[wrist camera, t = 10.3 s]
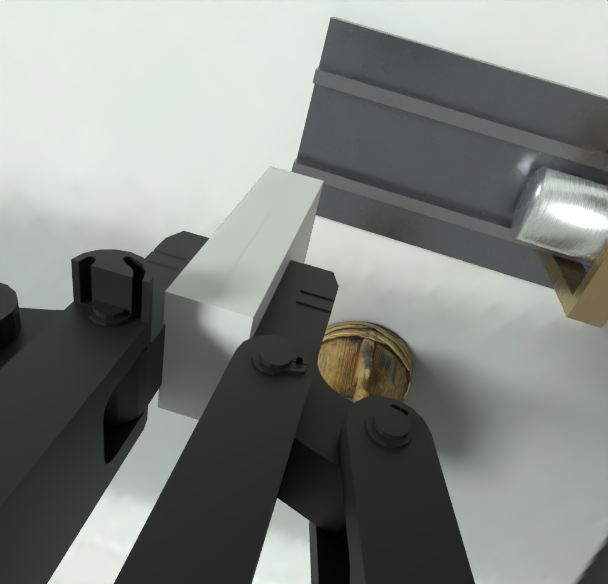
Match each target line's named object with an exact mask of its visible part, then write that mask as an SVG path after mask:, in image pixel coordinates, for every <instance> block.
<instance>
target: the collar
mask: <svg viewBox="0 0 608 584" xmlns="http://www.w3.org/2000/svg"><path fill="white" fill-rule="evenodd" d="M544 267H545V269H546V271H547V273H548V276H549V278H550V280H551V282H552V285H553V287H554V289H555V291H556V294H557V296H558V298H559V300H560V303H561V305H562V307H563V309H564V311H565V314H566V316H567V317H568V318H571V319H575V320H578V321H581V322H584V323H587V324H591V325H594V326H597V327H600V328H602V326H603V325H604V323H605V322H606V321H607V319H608V241H607V243H606V245H605V246H604V248H603V249H602V251H601V252H600V254H599V255H598V257H597V259H596V260H595V262H594V263H593V265H592V266H591V268H590V269H589V271H588V273H587V272H586V270H585V268H584V267H583V265H582V263H579V262H575V261H572V260H569V259H566V258H562V257H559V256H556V255H553V254H551V255H550V256H549V258H548V260H547V262H546V263H545V265H544Z"/></svg>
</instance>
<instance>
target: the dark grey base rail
mask: <svg viewBox="0 0 608 584" xmlns="http://www.w3.org/2000/svg"><path fill="white" fill-rule="evenodd" d="M313 83H315V85H314V90H313V94H312V98H311V102H310V106H309V110H308V115H307V119H306V123H305V127H304V131H303V135H302V140H301V144H300V148H299V152H298V156H297V159H296V160H295V161H294V164H293V168H292V172H294V173H297V174H301V175H304V176H308V177H312V178H315V179H319V180H323V181H324V182H323V186H322V190H321V194H320V199H319V203H318V207H317V211H316V215H318V216H322V217H325V218H328V219H331V220H334V221H338V222H341V223H344V224H347V225H350V226H354V227H357V228H360V229H363V230H366V231H370V232H373V233H376V234H379V235H383V236H386V237H389V238H392V239H395V240H399V241H402V242H405V243H408V244H411V245H415V246H418V247H421V248H424V249H427V250H431V251H434V252H437V253H440V254H444V255H447V256H450V257H453V258H456V259H460V260H463V261H466V262H469V263H472V264H476V265H479V266H482V267H485V268H488V269H492V270H495V271H498V272H501V273H504V274H508V275H511V276H514V277H517V278H521V279H524V280H527V281H530V282H533V283H537V284H540V285H543V286H546V287H549V288H553V289H554V287H553V285H552V282H551V280H550V278H549V276H548V273H547V271H546V269H545V267H544V265H545V263H546V262H547V260H548V258H549V256H550V255H551V254H553V255H556V256H559V257H562V258H566V259H569V260H572V261H575V262H579V263H582V265H583V267H584V268H585V270H586V272H587V273H588V271H589V269H590V268H591V266H592V265H593V263H592V262H589V261H585V260H582V259H579V258H576V257H572V256H569V255H566V254H563V253H560V252H556V251H553V250H550V249H547V248H543V247H540V246H537V245H534V244H530V243H527V242H524V241H521V240H517V239H514V238H513V236H512V233H511V225H512V219H513V215H514V211H515V208H516V205H517V203H518V200H519V198H520V195H521V193H522V191H523V189H524V188H525V186H526V184H527V182H528V181H529V179H530V178H531V177H532V175H533V174H534V173H535V172H536V171H537V170H538V169H540V168H541V167H547V168H550V169H553V170H557V171H560V172H563V173H567V174H570V175H573V176H577V177H580V178H583V179H586V180H590V181H593V182H596V183H600V184H603V185H606V186H608V98H607V97H603V96H600V95H597V94H593V93H590V92H586V91H583V90H580V89H576V88H573V87H570V86H566V85H563V84H559V83H556V82H553V81H549V80H546V79H542V78H539V77H536V76H532V75H529V74H525V73H522V72H519V71H515V70H512V69H508V68H505V67H502V66H498V65H495V64H492V63H488V62H485V61H481V60H478V59H475V58H471V57H468V56H464V55H461V54H458V53H454V52H451V51H447V50H444V49H441V48H437V47H434V46H430V45H427V44H424V43H420V42H417V41H414V40H410V39H407V38H403V37H400V36H397V35H393V34H390V33H386V32H383V31H380V30H376V29H373V28H369V27H366V26H363V25H359V24H356V23H352V22H349V21H346V20H342V19H339V18H336V17H331V19H330V23H329V27H328V31H327V35H326V40H325V44H324V48H323V52H322V56H321V60H320V65H319V67H318V68H317V69H316V71H315V76H314V80H313Z"/></svg>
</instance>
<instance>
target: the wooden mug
mask: <svg viewBox="0 0 608 584" xmlns="http://www.w3.org/2000/svg"><path fill="white" fill-rule="evenodd" d="M318 367H319V371H320V373H321V375H322V377H323V378H324V380H325V381H326V382H327V383H328V385H329V386H330V387H331V388H332V389H334V390H335V391H336V392H338V393H339V394H341V395H342V396H344V397H345V398H347V399H349V400H350V401H352V402H354V403H355V401H358V400H360V399H362V398H365V397H367V396H384V397H388V398H391V399H395V400H398V401H400V402H402V403H403V399H404V398H405V397H406V395H407V393H408V391H409V389H410V383H411V377H412V371H413V364H412V358H411V353H410V352H409V350H408V348H407V346H406V345H405V343H404V341H402V340H401V339H400V338H399V337H397V336H396V335H395V334H394V333H393V332H391V331H388V330H386V329H383V328H381V327H379V326H376V325H374V324H371V323H367V322H360V321H348V322H342V323H335V324H333V325H330V326H328V327H327V328H326V332H325V335H324V338H323V342H322V345H321V349H320V352H319V356H318Z"/></svg>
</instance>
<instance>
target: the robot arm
mask: <svg viewBox="0 0 608 584" xmlns="http://www.w3.org/2000/svg"><path fill="white" fill-rule="evenodd" d="M323 182H324V181H323V180H319V179H315V178H312V177H308V176H304V175H301V174H297V173H294V172H290V171H286V170H283V169H279V168H275V167H272V166H270V167H269V168H268V169H267V171H266V172H265V173H264V174H263V175H262V177H261V178H260V179H259V180H258V181H257V182H256V184H255V185H254V186H253V187H252V188H251V190H250V191H249V192H248V193H247V194H246V196H245V197H244V198H243V199H242V200H241V202H240V203H239V204H238V205H237V206H236V208H235V209H234V210H233V211H232V212H231V213H230V215H229V216H228V217H227V218H226V219H225V221H224V222H223V223H222V224H221V225H220V227H219V228H218V229H217V230H216V231H215V233H214V234H213V235H212V236H211V237H210V238H207V237H203V236H200V235H196V234H193V233H189V232H186V231H182V232H180V233H177V234H175V235H172V236H170V237H167V238H165V239H164V240H163V241H162V242H161V243H160V244H159V245H158V246H157V247H156V248H155V249H154V252H151V253H150V254H149V255H148V256H147V257H146V258H145V259H144V258H143V257H141V256H138V255H136V254H134V253H131V252H127V251H121V250H115V249H114V250H95V251H91V252H87V253H83V254H81V255H79V256H77V257H75V258H73V259H72V260H71V263H72V279H73V296H74V302H73V303H71V304H70V305H69V306H68V307H67V308H66V309H65V310H44V309H30V308H19V306H18V300H17V295H16V292H15V291H14V290H12V289H11V288H10V287H9V286H8V285H5V284H2V283H0V584H47V583H48V581H49V580H50V578H51V576H52V575H53V573H54V572H55V570H56V568H57V567H58V565H59V564H60V562H61V560H62V559H63V557H64V556H65V554H66V552H67V551H68V549H69V548H70V546H71V544H72V543H73V541H74V540H75V538H76V536H77V535H78V533H79V532H80V530H81V528H82V527H83V525H84V524H85V522H86V520H87V519H88V517H89V516H90V514H91V512H92V511H93V509H94V508H95V506H96V504H97V503H98V501H99V500H100V498H101V496H102V495H103V493H104V492H105V490H106V489H107V487H108V485H109V484H110V482H111V481H112V479H113V477H114V476H115V474H116V473H117V471H118V469H119V468H120V466H121V465H122V463H123V461H124V460H125V458H126V457H127V455H128V453H129V452H130V450H131V449H132V447H133V445H134V444H135V442H136V441H137V439H138V437H139V436H140V434H141V433H142V431H143V429H144V427H145V424H146V421H147V414H148V404H149V403H150V401H151V400H152V398H153V397H154V395H155V394H156V392H157V390H158V389H159V399H158V407H159V408H162V409H165V410H169V411H172V412H175V413H178V414H182V415H185V416H188V417H191V418H194V419H198V420H199V422H198V423H197V425H196V427H195V429H194V431H193V433H192V435H191V437H190V439H189V441H188V443H187V445H186V446H185V448H184V450H183V452H182V454H181V456H180V458H179V460H178V462H177V464H176V466H175V467H174V469H173V471H172V473H171V475H170V477H169V479H168V481H167V483H166V485H165V487H164V489H163V490H162V492H161V494H160V496H159V498H158V500H157V502H156V504H155V506H154V508H153V510H152V512H151V513H150V515H149V517H148V519H147V521H146V523H145V525H144V527H143V529H142V531H141V533H140V535H139V536H138V538H137V540H136V542H135V544H134V546H133V548H132V550H131V552H130V554H129V556H128V557H127V559H126V561H125V563H124V565H123V567H122V569H121V571H120V573H119V575H118V577H117V579H116V580H115V582H114V584H252V581H253V578H254V574H255V571H256V567H257V564H258V561H259V557H260V554H261V550H262V547H263V544H264V540H265V537H266V533H267V530H268V527H269V523H270V520H271V517H272V513H273V510H274V506H275V503H276V500H277V498H278V499H280V500H281V501H283V502H284V503H286V504H287V505H288V506H290V507H291V508H293V509H294V510H295V511H297V512H298V513H300V514H301V515H302V516H304V517H305V518H307V519H308V520H310V522H309V533H310V560H311V584H475V582H474V578H473V575H472V572H471V568H470V565H469V561H468V558H467V555H466V551H465V548H464V544H463V541H462V537H461V534H460V531H459V527H458V524H457V520H456V517H455V514H454V510H453V507H452V503H451V500H450V496H449V493H448V490H447V486H446V483H445V479H444V476H443V473H442V469H441V466H440V462H439V459H438V455H437V452H436V449H435V445H434V442H433V438H432V435H431V432H430V431H429V429H428V427H427V425H426V423H425V421H424V420H423V419H422V418H421V417H420V416H419V415H418V414H417V413H416V412H415V411H414V410H413V409H412V408H411V407H409V406H407V405H405V404H404V403H402V402H400V401H398V400H395V399H391V398H388V397H384V396H367V397H365V398H362V399H360V400H358V401H355V403H354V402H352V401H350V400H349V399H347V398H345V397H344V396H342V395H341V394H339V393H338V392H336V391H335V390H334V389H332V388H331V387H330V386H329V385H328V383H327V382H326V381H325V380H324V378H323V377H322V375H321V373H320V371H319V367H318V356H319V352H320V349H321V345H322V342H323V338H324V335H325V332H326V328H327V325H328V321H329V318H330V314H331V311H332V307H333V304H334V301H335V297H336V294H337V290H338V287H339V286H338V284H337V281H336V278H335V276H334V273H333V272H331V271H327V270H324V269H320V268H317V267H314V266H310V265H307V264H304V262H305V257H306V253H307V249H308V245H309V241H310V236H311V232H312V228H313V224H314V220H315V215H316V211H317V207H318V203H319V199H320V194H321V190H322V186H323Z"/></svg>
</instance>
